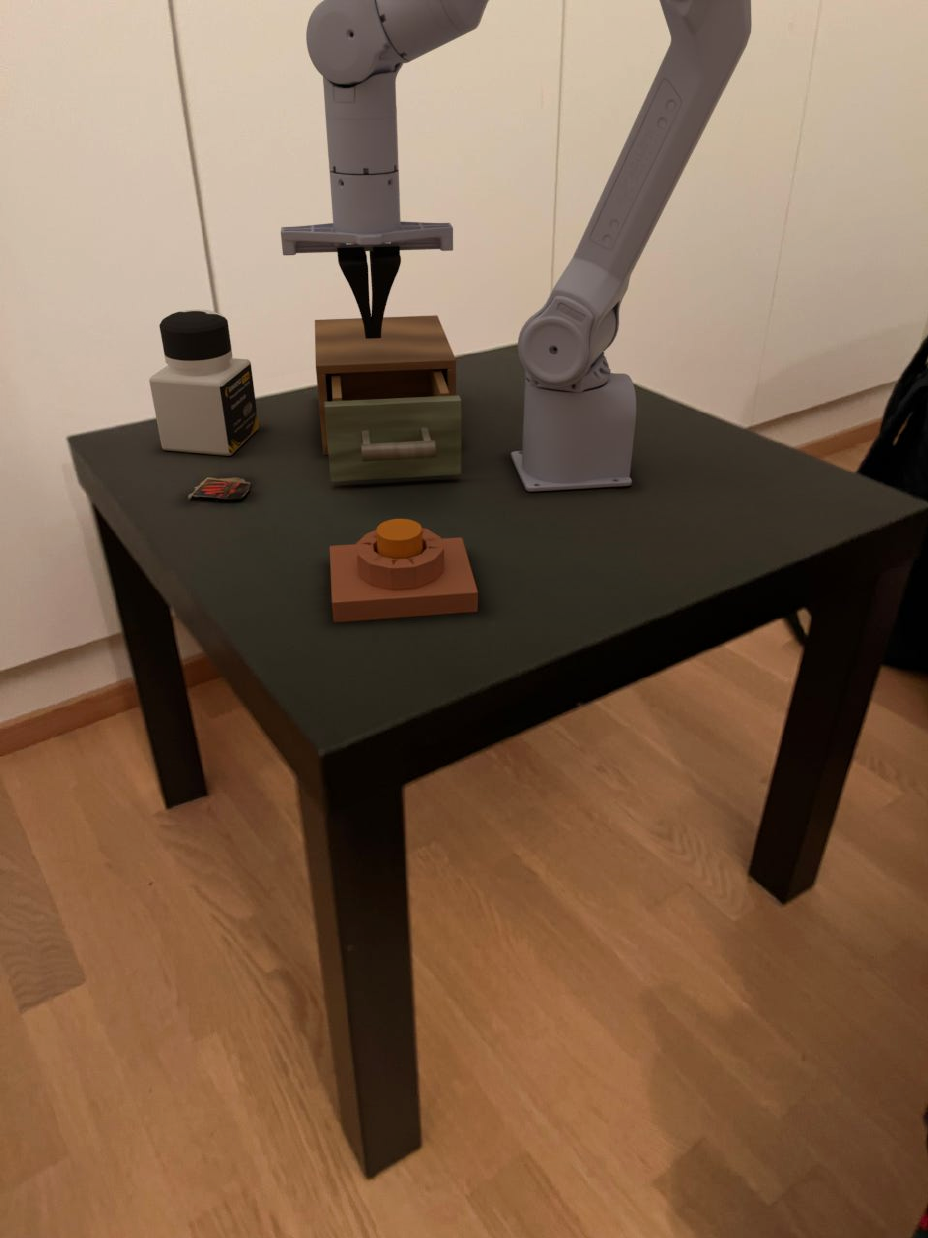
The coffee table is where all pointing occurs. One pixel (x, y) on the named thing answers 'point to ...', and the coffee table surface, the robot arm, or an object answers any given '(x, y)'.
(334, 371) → the cabinet
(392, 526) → the button
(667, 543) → the coffee table surface
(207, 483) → the matchbox
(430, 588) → the button box
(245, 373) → the medicine bottle
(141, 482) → the coffee table surface
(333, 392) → the drawer
